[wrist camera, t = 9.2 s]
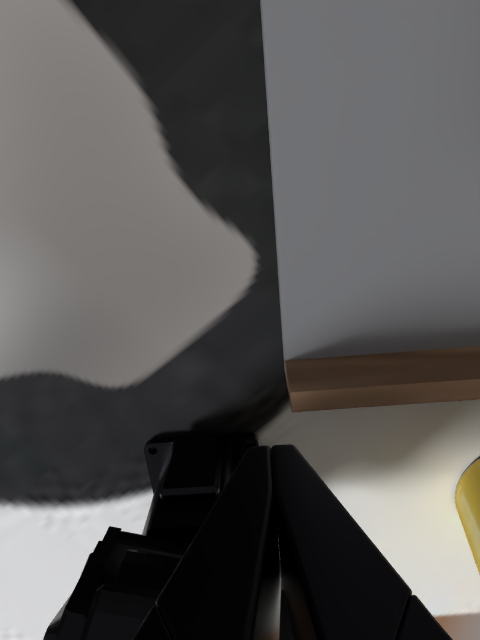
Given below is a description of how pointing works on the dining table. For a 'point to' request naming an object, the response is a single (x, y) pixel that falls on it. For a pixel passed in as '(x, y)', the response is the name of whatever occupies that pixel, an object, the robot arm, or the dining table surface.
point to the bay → (376, 198)
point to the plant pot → (470, 507)
